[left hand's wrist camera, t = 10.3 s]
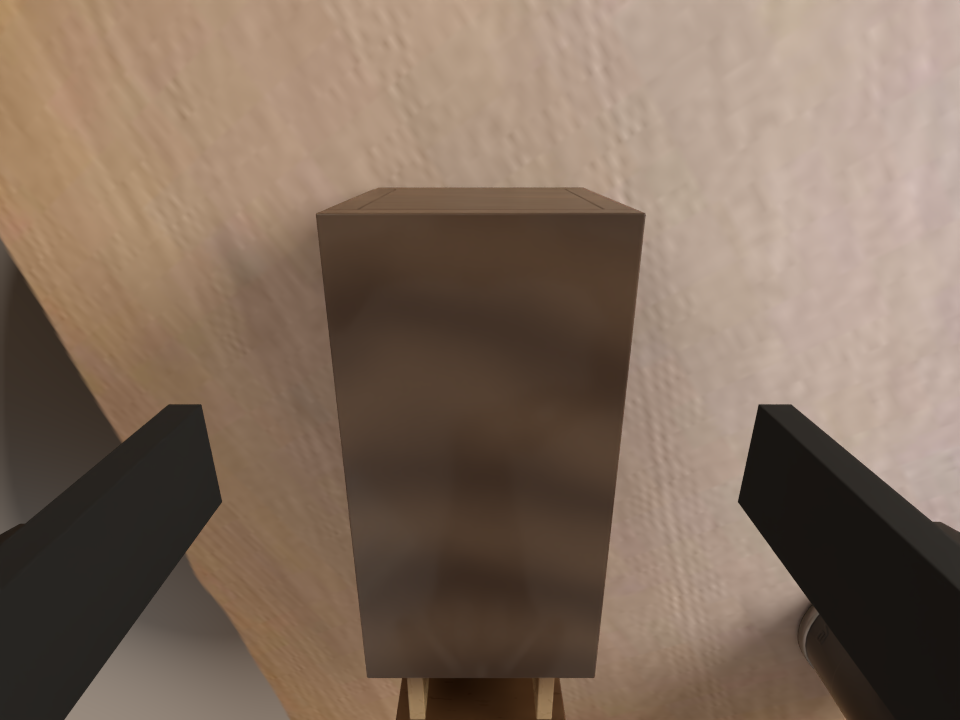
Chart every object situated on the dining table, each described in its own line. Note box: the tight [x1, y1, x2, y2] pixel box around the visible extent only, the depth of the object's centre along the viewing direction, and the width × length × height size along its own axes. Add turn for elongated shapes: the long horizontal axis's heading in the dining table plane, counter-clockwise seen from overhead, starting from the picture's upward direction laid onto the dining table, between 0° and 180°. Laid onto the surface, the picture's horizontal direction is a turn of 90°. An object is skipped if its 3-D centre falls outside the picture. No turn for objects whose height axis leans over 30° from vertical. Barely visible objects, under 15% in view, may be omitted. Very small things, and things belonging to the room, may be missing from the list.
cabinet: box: [316, 188, 645, 678], centre depth 26 cm, size 21×11×11 cm, turn 0°
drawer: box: [396, 678, 566, 720], centre depth 30 cm, size 26×9×9 cm, turn 0°
